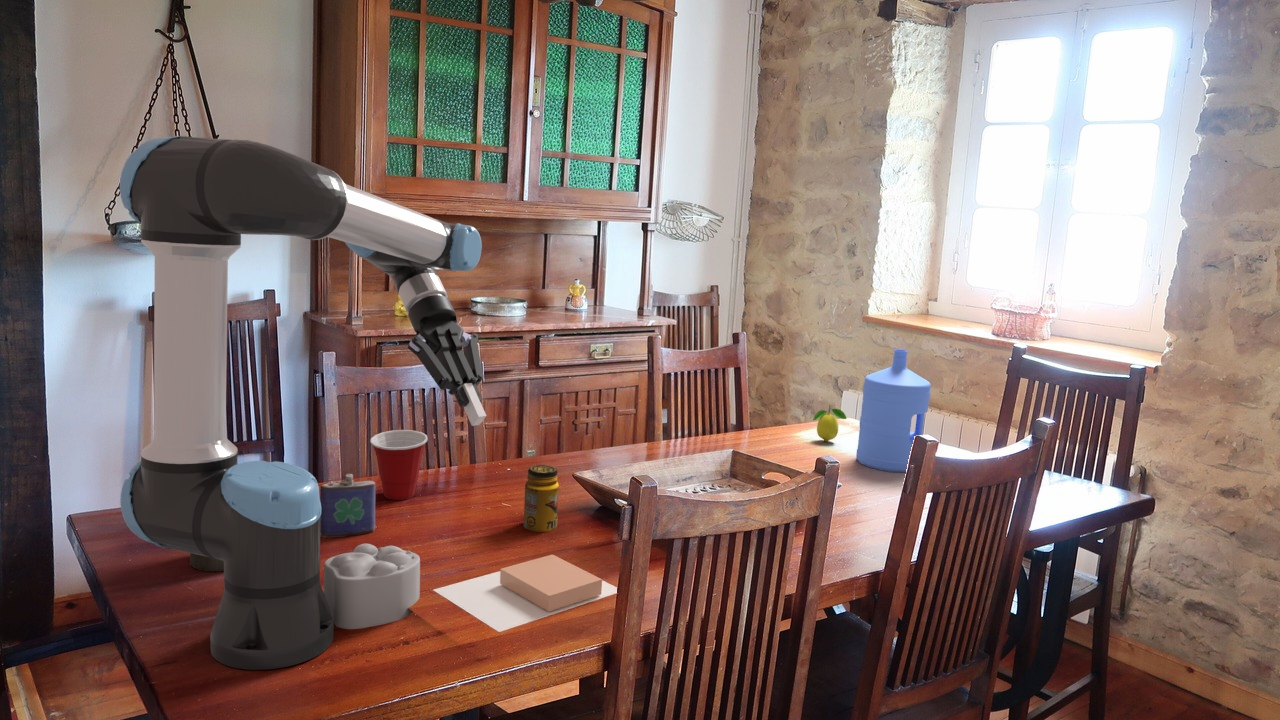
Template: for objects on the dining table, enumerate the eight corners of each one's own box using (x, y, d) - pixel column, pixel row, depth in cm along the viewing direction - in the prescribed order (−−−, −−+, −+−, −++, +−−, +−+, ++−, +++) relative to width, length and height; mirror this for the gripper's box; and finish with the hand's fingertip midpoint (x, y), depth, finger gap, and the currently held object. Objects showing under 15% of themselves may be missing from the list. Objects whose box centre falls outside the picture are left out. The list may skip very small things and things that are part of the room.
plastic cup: (358, 499, 182) (358, 439, 180) (389, 484, 192) (390, 427, 190) (407, 508, 179) (408, 447, 177) (437, 492, 189) (438, 434, 187)
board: (498, 640, 129) (499, 632, 129) (432, 597, 141) (432, 589, 141) (622, 598, 145) (623, 590, 145) (553, 562, 157) (554, 556, 157)
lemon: (844, 444, 247) (847, 406, 245) (827, 446, 243) (831, 408, 242) (826, 437, 252) (830, 401, 250) (809, 439, 249) (813, 402, 247)
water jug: (862, 470, 223) (874, 353, 218) (850, 453, 238) (861, 343, 233) (929, 475, 222) (942, 358, 217) (912, 457, 238) (925, 347, 233)
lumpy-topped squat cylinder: (318, 604, 137) (318, 547, 135) (404, 587, 144) (405, 533, 143) (341, 633, 128) (342, 573, 127) (431, 613, 136) (433, 556, 135)
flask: (373, 527, 168) (374, 469, 166) (376, 533, 165) (377, 474, 163) (319, 533, 164) (319, 473, 162) (321, 539, 161) (321, 479, 159)
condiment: (565, 536, 170) (568, 471, 168) (523, 543, 165) (525, 477, 163) (546, 523, 176) (549, 460, 174) (505, 529, 171) (507, 465, 169)
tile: (499, 585, 144) (548, 613, 136) (500, 568, 144) (549, 595, 135) (551, 570, 151) (601, 596, 142) (552, 554, 150) (602, 579, 142)
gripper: (452, 318, 170) (502, 428, 160) (385, 321, 161) (434, 438, 152) (469, 292, 165) (522, 404, 156) (402, 293, 156) (453, 412, 147)
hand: (479, 420), depth 154 cm, fingers closed
